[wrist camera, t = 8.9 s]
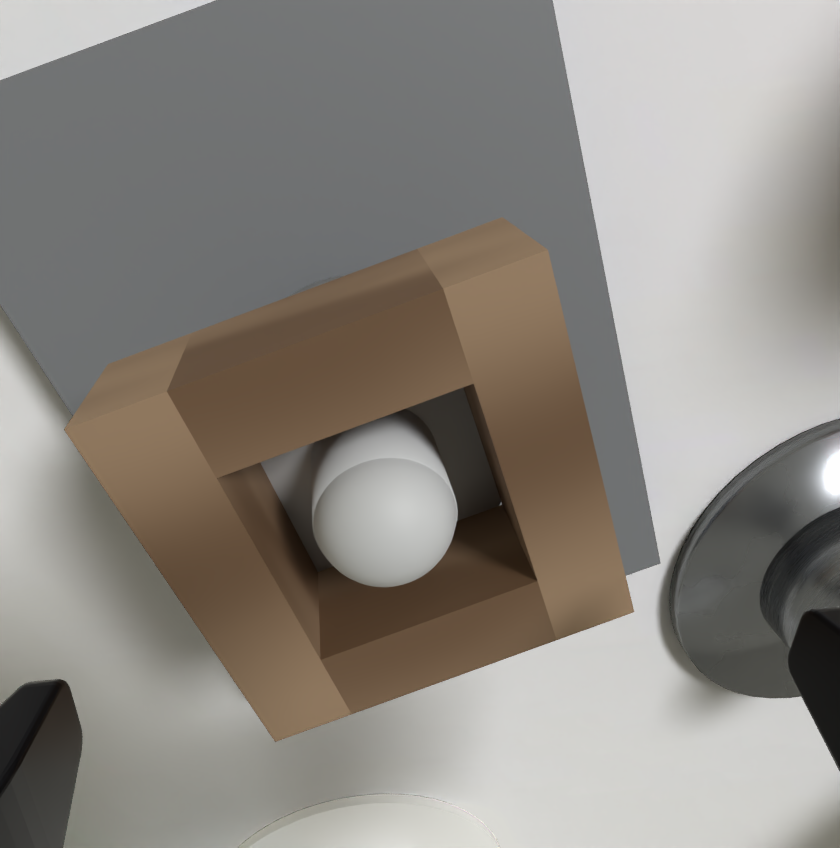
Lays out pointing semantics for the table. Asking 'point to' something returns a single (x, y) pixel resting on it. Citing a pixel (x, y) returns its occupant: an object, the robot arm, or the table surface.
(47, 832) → the robot arm
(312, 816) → the panda figurine
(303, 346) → the wooden square frame
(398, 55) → the board
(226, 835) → the table surface
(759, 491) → the stand
